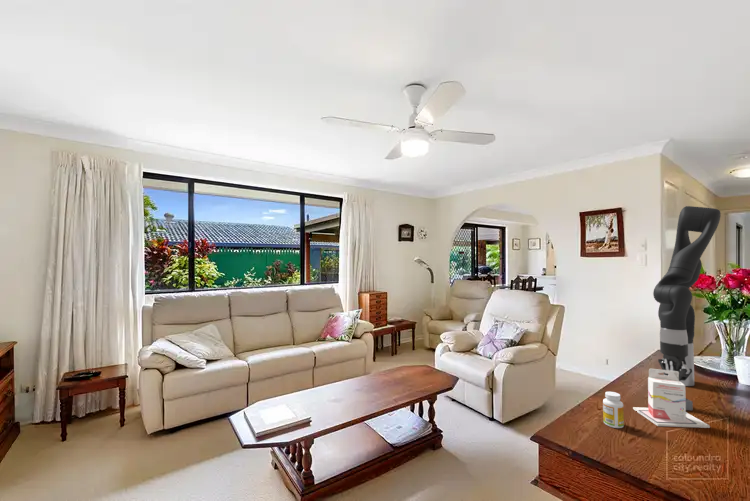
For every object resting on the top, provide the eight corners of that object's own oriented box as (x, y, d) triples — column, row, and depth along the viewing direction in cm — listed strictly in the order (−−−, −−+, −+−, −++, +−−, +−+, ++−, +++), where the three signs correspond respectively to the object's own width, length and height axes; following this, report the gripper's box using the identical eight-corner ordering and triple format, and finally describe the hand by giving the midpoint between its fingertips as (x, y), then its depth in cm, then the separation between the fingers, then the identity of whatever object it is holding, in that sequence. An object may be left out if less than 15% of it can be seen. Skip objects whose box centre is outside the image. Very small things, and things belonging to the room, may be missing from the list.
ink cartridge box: (653, 418, 112) (652, 372, 112) (648, 411, 116) (647, 367, 117) (687, 422, 108) (685, 375, 109) (680, 415, 113) (679, 370, 113)
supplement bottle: (620, 421, 111) (619, 391, 111) (626, 429, 106) (625, 398, 106) (601, 419, 113) (600, 389, 113) (606, 427, 108) (605, 395, 108)
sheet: (633, 409, 120) (632, 406, 120) (679, 410, 119) (679, 407, 119) (657, 426, 108) (657, 423, 108) (709, 427, 107) (709, 424, 107)
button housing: (656, 401, 126) (656, 393, 126) (677, 401, 126) (676, 393, 126) (670, 409, 119) (670, 400, 119) (692, 410, 119) (692, 401, 119)
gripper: (649, 336, 130) (650, 383, 129) (676, 345, 116) (678, 397, 116) (670, 337, 129) (672, 383, 128) (700, 345, 116) (702, 398, 115)
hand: (675, 390), depth 122 cm, fingers closed
